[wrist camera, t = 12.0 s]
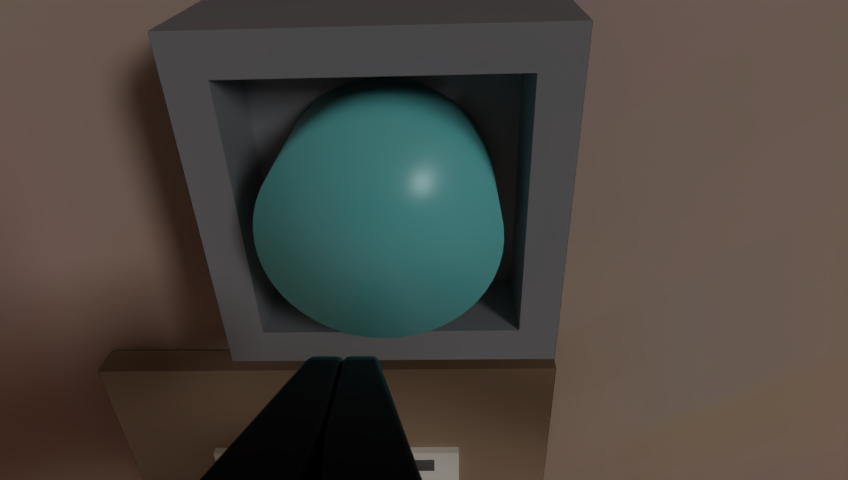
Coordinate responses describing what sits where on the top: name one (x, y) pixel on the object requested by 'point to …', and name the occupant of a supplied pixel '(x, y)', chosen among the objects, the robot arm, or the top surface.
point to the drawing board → (261, 380)
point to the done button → (381, 211)
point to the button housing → (364, 59)
